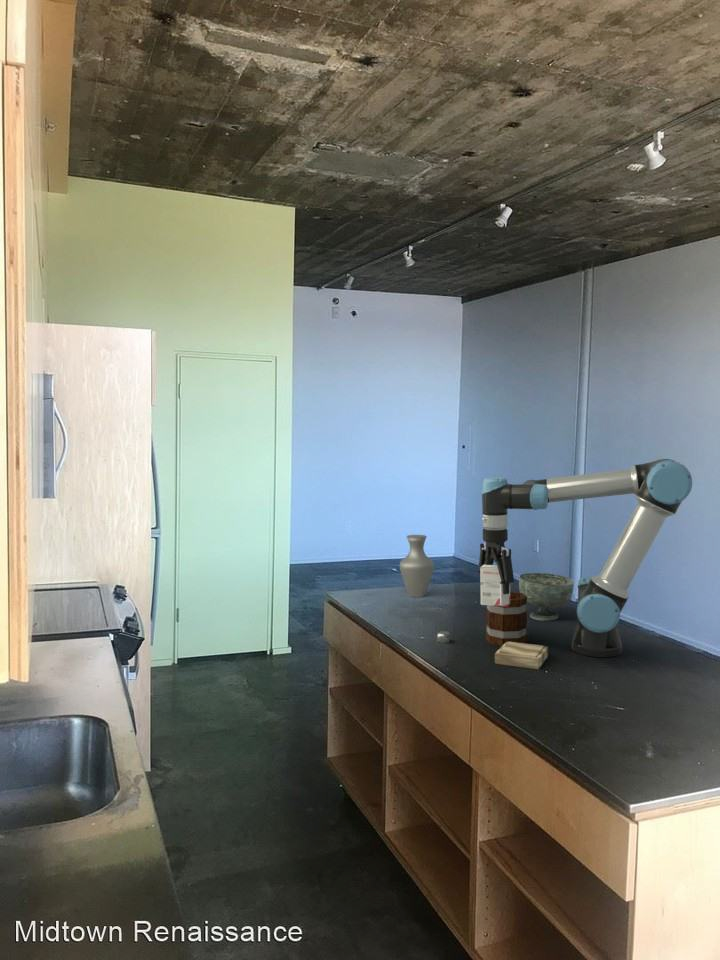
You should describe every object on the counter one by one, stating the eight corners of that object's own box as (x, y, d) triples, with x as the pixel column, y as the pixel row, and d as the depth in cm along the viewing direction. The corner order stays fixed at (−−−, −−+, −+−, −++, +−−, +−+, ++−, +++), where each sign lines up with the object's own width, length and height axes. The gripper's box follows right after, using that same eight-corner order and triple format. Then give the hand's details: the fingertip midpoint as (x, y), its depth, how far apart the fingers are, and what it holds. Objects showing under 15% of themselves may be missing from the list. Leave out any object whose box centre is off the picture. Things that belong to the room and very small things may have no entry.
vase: (417, 589, 320) (416, 532, 318) (441, 595, 309) (441, 536, 307) (392, 595, 311) (392, 535, 309) (416, 601, 300) (416, 539, 298)
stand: (506, 651, 234) (506, 640, 234) (547, 656, 229) (548, 645, 228) (494, 663, 223) (494, 651, 222) (538, 669, 217) (538, 657, 217)
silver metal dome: (439, 639, 248) (439, 630, 247) (451, 641, 246) (451, 632, 246) (435, 642, 244) (435, 633, 244) (446, 644, 242) (446, 635, 242)
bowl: (576, 625, 263) (576, 583, 261) (520, 623, 266) (520, 582, 264) (569, 611, 282) (570, 572, 281) (517, 609, 285) (517, 571, 284)
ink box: (511, 602, 230) (510, 564, 229) (508, 606, 225) (508, 568, 224) (483, 601, 233) (482, 563, 232) (479, 605, 228) (479, 566, 227)
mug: (524, 648, 237) (524, 601, 236) (482, 644, 242) (482, 598, 240) (531, 631, 256) (531, 588, 255) (491, 628, 260) (491, 586, 259)
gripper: (466, 524, 236) (467, 595, 237) (504, 533, 216) (505, 610, 217) (486, 523, 239) (487, 592, 240) (526, 531, 218) (526, 607, 220)
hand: (495, 600), depth 229 cm, fingers closed on ink box, 9 cm apart
